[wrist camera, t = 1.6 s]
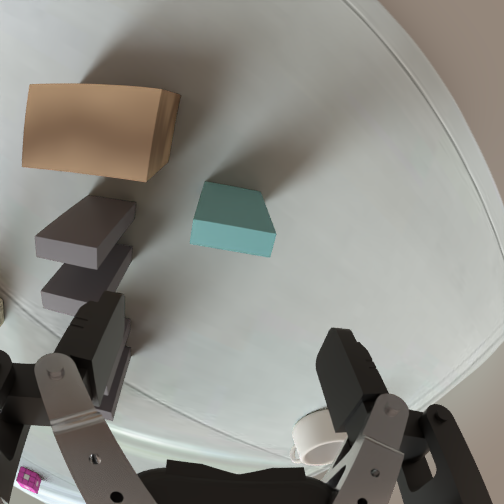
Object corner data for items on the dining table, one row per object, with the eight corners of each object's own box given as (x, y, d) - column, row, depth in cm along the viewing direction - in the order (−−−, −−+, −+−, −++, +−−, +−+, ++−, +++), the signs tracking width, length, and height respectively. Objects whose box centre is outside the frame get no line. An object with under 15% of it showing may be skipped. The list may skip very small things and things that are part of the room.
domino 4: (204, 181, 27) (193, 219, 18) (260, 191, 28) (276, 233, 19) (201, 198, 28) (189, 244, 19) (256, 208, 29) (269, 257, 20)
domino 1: (88, 195, 27) (34, 236, 18) (136, 202, 28) (96, 248, 19) (87, 211, 27) (36, 256, 18) (134, 218, 28) (97, 269, 19)
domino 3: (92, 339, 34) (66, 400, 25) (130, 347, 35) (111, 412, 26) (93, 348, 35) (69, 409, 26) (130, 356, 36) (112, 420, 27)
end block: (77, 86, 22) (29, 84, 15) (180, 94, 24) (161, 89, 17) (68, 149, 25) (21, 166, 17) (168, 161, 26) (146, 182, 19)
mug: (326, 399, 42) (336, 431, 36) (359, 416, 45) (370, 445, 40) (268, 435, 45) (272, 466, 40) (305, 449, 48) (311, 476, 43)
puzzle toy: (37, 473, 56) (32, 488, 51) (41, 479, 58) (37, 494, 53) (20, 465, 55) (16, 480, 50) (25, 472, 57) (21, 486, 52)
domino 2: (86, 238, 29) (40, 291, 20) (132, 246, 29) (98, 305, 20) (87, 252, 29) (43, 308, 20) (131, 260, 30) (99, 322, 21)
